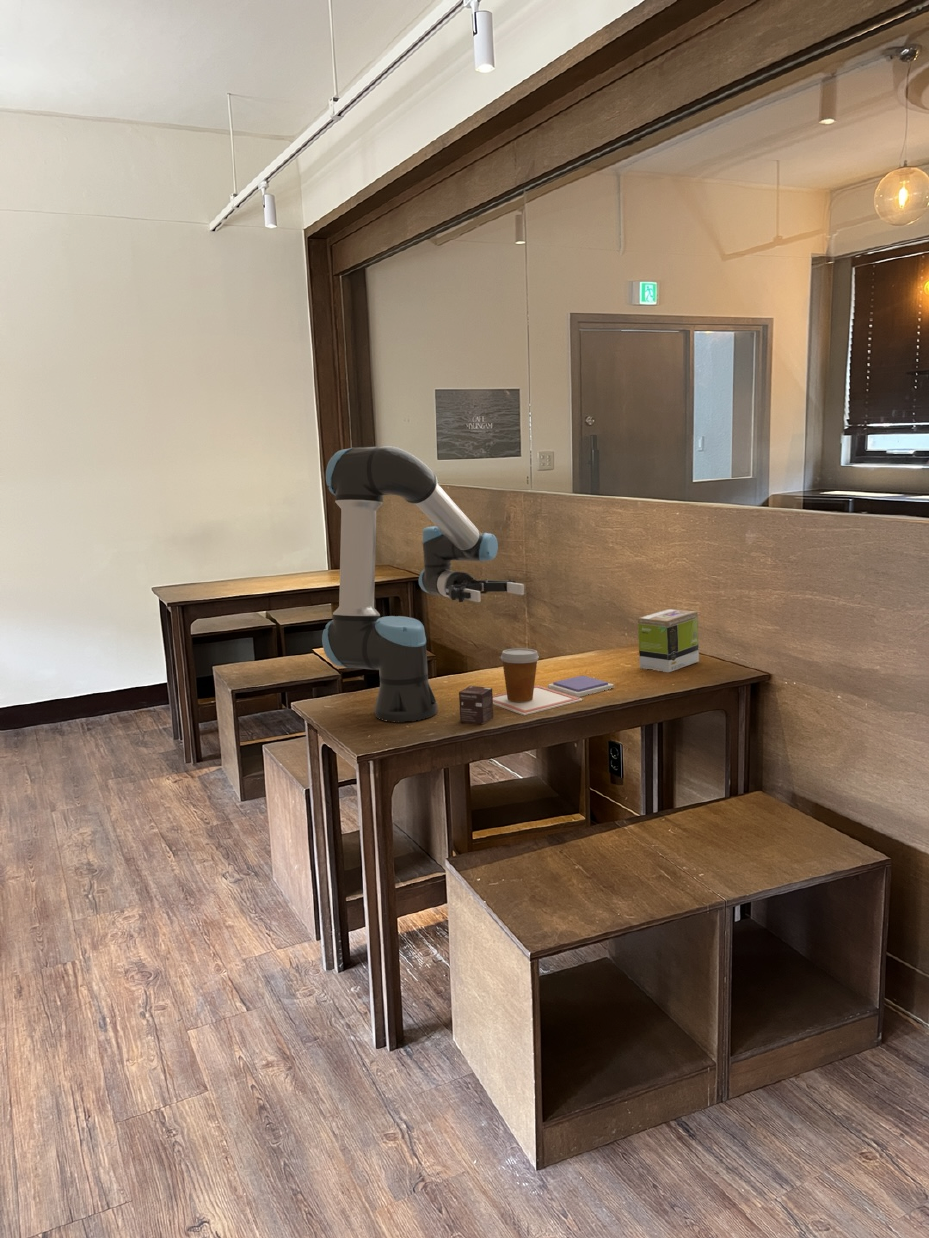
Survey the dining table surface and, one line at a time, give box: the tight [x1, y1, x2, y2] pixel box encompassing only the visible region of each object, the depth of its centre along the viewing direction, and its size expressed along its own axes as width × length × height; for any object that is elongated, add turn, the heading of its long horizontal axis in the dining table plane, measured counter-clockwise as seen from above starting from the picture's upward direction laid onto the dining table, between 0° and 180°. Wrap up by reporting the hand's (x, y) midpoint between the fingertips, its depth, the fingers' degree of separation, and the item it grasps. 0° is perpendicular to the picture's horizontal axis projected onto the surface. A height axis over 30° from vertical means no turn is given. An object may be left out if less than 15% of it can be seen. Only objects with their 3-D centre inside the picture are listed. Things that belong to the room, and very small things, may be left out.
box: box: [458, 685, 494, 725], centre depth 206 cm, size 6×6×7 cm
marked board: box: [493, 684, 583, 716], centre depth 220 cm, size 18×18×1 cm
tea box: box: [637, 608, 700, 673], centre depth 245 cm, size 15×10×15 cm
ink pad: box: [547, 674, 615, 698], centre depth 228 cm, size 12×12×2 cm
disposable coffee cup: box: [500, 648, 540, 702], centre depth 218 cm, size 10×10×12 cm
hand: (501, 593), depth 224 cm, fingers open, 13 cm apart
